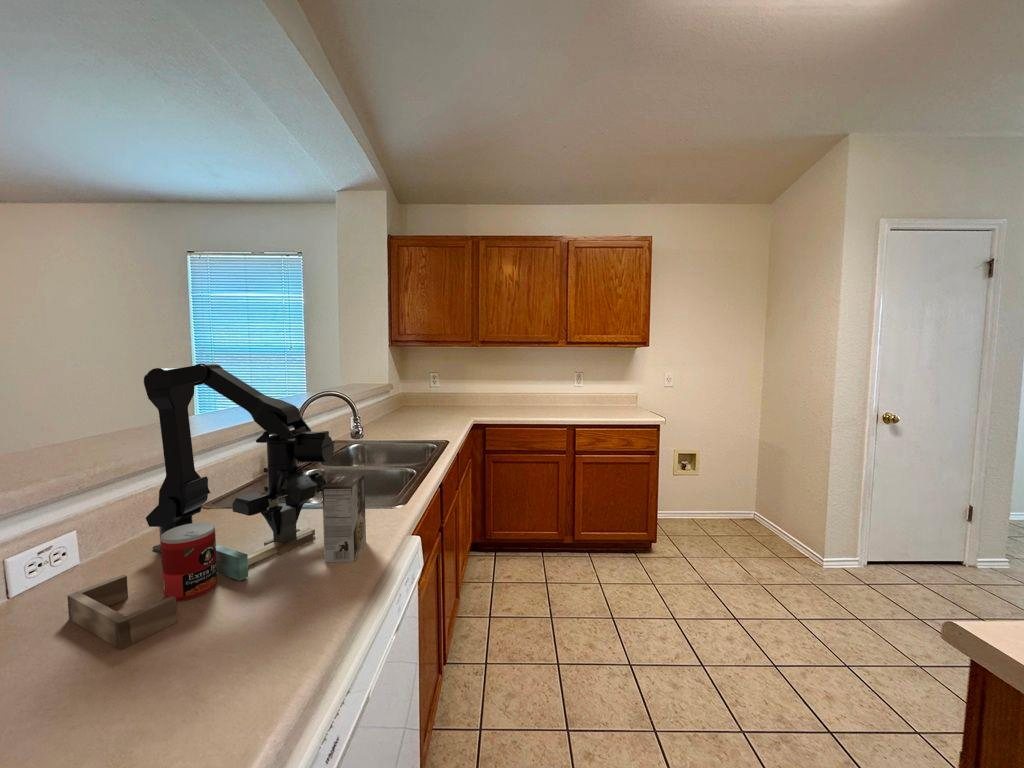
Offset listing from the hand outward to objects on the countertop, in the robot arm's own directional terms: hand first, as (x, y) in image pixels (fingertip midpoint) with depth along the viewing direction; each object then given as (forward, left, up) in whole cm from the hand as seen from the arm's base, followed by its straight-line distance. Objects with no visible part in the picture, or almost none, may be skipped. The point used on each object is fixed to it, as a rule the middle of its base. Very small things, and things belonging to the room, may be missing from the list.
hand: (284, 531), depth 91 cm
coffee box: (+14, +4, -4) cm, 15 cm away
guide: (0, +1, -4) cm, 4 cm away
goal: (0, -28, -3) cm, 28 cm away
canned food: (0, -18, -4) cm, 19 cm away
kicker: (0, -3, -3) cm, 5 cm away
